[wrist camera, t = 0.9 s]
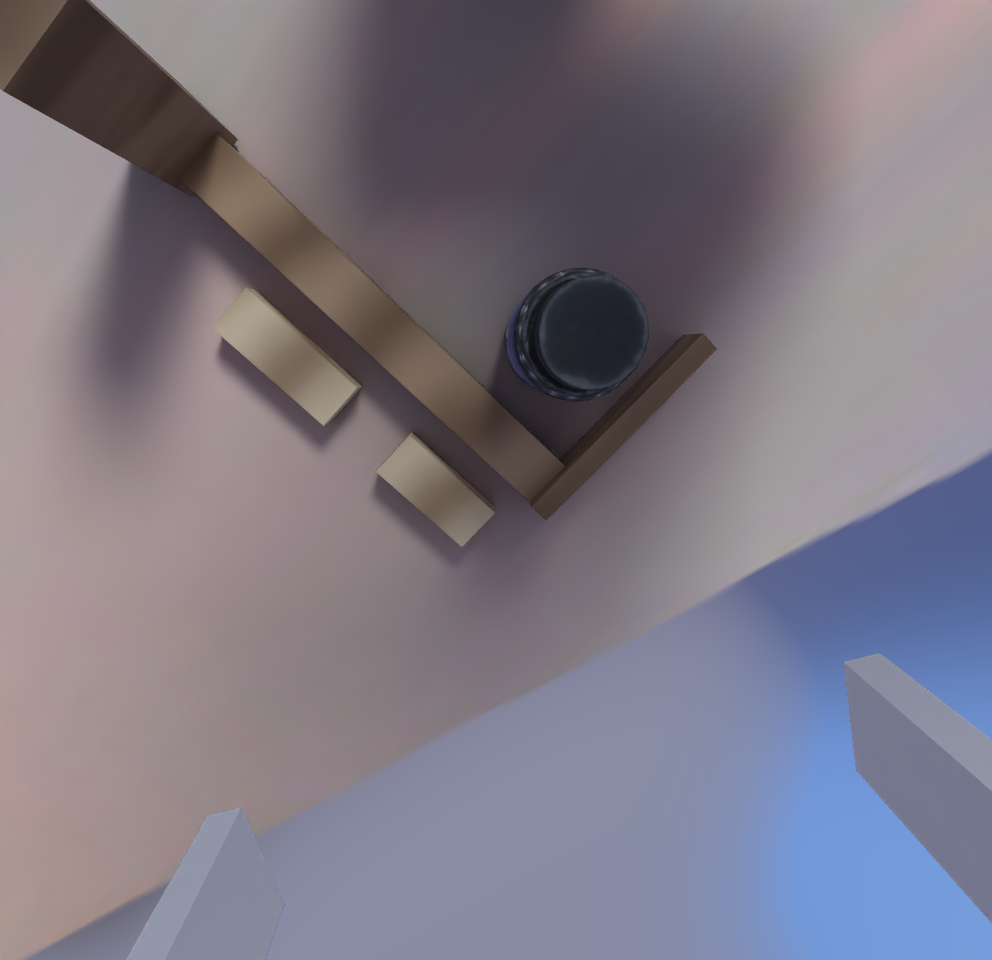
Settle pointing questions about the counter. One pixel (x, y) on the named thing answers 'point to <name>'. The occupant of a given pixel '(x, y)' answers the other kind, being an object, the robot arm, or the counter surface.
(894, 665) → the robot arm
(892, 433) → the counter surface
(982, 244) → the counter surface
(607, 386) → the pill bottle
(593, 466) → the wooden stand
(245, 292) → the broken strip
